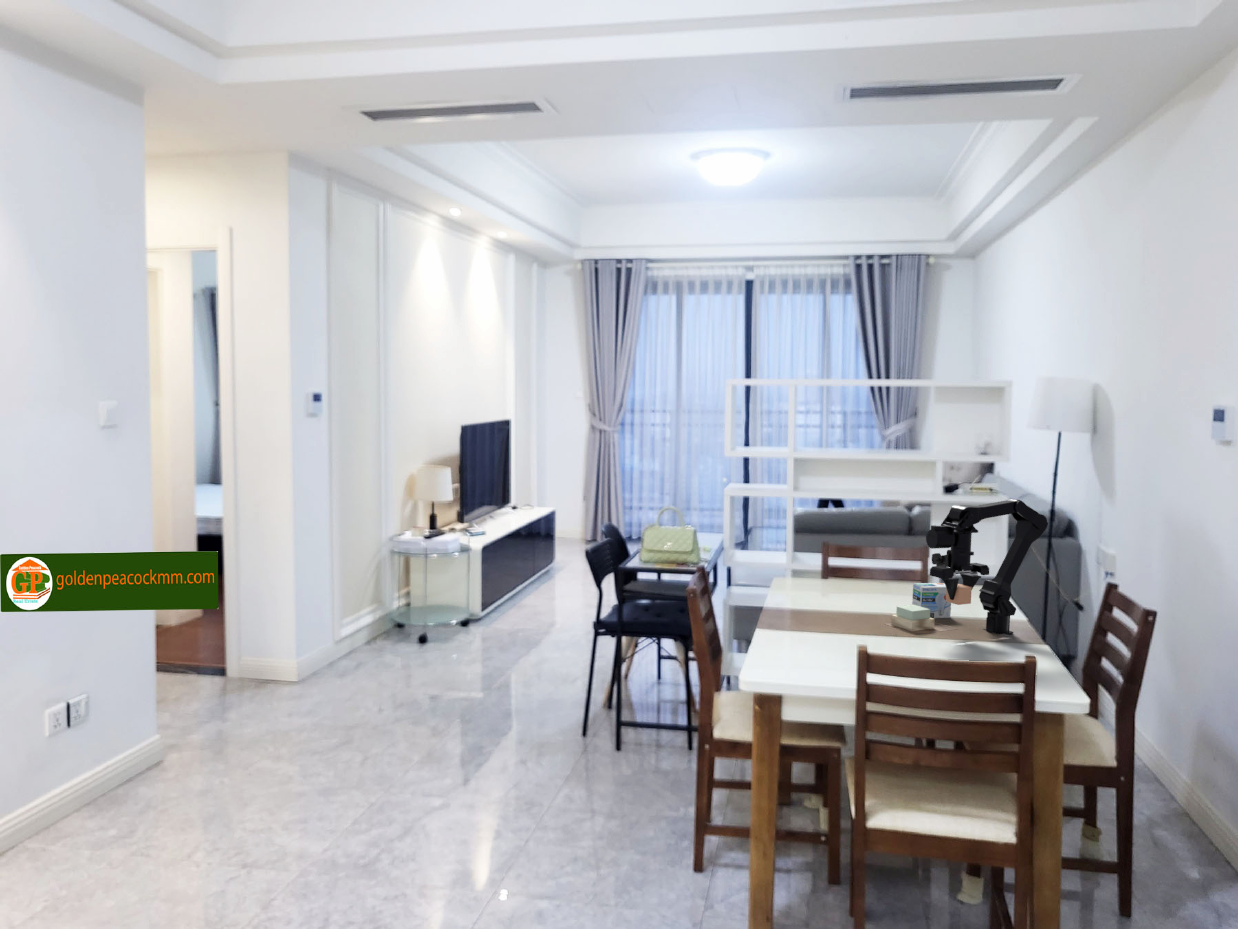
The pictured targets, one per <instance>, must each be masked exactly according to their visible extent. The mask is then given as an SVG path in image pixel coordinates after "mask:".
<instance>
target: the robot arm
mask: <svg viewBox="0 0 1238 929" xmlns="http://www.w3.org/2000/svg"><path fill="white" fill-rule="evenodd" d="M1007 515H1010V516H1011V518H1012V519H1014V521H1015V522H1016V524H1015V526H1014V527H1015V538H1014V539H1013V541H1012V544H1011V545H1010V546H1009V549H1008V551H1007V553H1006V555H1005V557H1004V559H1003V561H1002V563H1001V564H1000V567H999V569H998V571H997V572H996V574H995V576H994V577H993V578H992V579H991V580H989V579H985V580H984V581H983V584H982V587H981V588H980V589H979V590H978V591H979V594H978V599H979V601H980V603H981V604H982V608H983V610H984V611H987V612H986V613H987V616H986V620H985V623H986V624H985V628H982V631H986V632H989V633H992V634H996V635H1002V634H1004V635H1010V634H1014V631H1011V630H1010V624H1011V616H1015V614H1016V611H1017V608H1016V607H1015V605H1014V604H1013V603H1012V602H1011V601H1010V600H1011V597H1012V583H1013V581H1014V579H1015V578H1016V576H1017V573H1018V571H1019V570H1020V568H1021V565H1022V564H1023V562H1024V560H1025V557H1026V555H1027V554H1028V552H1029V550H1030V548H1031V546H1032V544H1033V543H1034V542H1036V541H1037V540H1039V539H1040V538H1041V537H1042V536H1043V535H1044V533H1045V532H1046V530H1047V528H1048V525H1049V522H1048V519H1047V517H1046V516H1045V515H1044V514H1041V513H1039V512H1038V511H1037V510H1035V509H1033V508H1031V507H1030V506H1029V505H1027V504H1026V503H1025V502H1024V501H1023V500H1020V499H1015V498H1009V499H1005V500H1001V501H996V502H989V503H984V504H978V505H971V504H970V505H969V504H954V505H952V506H951V508H950V509H949V511H948V513H947V516H946V517H945V518H944V519H943V521H942V522H941V524H940V525H930V529H929V530H928V531H927V533H926V536H925V541H926V545H927V546H928V548H929V549H947V550H946V554H944V555H942V554H941V553H940V552H939V553H938V552H937V553H932V554H931V564H932V566H931V567H930V568H929V576H931V577H935V578H938V579H941V580H942V581H943V583H944V584H945V585H946V588H947V591H948V594H949V598H950V599H951V600H954V597H955V593H956V589H957V585H958V584H959V580H960V578H957V576H956V575H960V577H961V579H962V585H966V586H970V587H972V589H971V591H973V589H974V587H975V585H976V584H977V582H978V581H979V580H980V579H982V576H989V575H990V567H989V566H988V564H984V563H980V562H979V563H978V562H971V558H972V557H971V556H975V552H974V551H972V537H973V536H972V534H976V533H979V530H978V529H977V528H976V527H975V525H976V524H978V523H980V522H981V521H982V520H985V519H989V518H995V517H1001V516H1007ZM933 565H935V566H933ZM979 574H980V575H981V576H980V575H979Z"/></svg>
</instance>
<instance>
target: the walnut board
mask: <svg viewBox="0 0 1238 929" xmlns="http://www.w3.org/2000/svg"><path fill="white" fill-rule="evenodd" d="M885 625H886V626H889V627H892V628H895V629H898V630H901V631H904V632H906V633H909V634H913V635H916V636H918V635H922V634H923V635H924V634H932V633H939V632H947V631H955V630H958V628H956V627H953V626H949V625H946V624H944V623H939V622H936V621H935V622H934V629H926V630H918V631H909V630H906V629H903V628H900V627H897V626H894V625H891V622H888V623H885Z"/></svg>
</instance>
